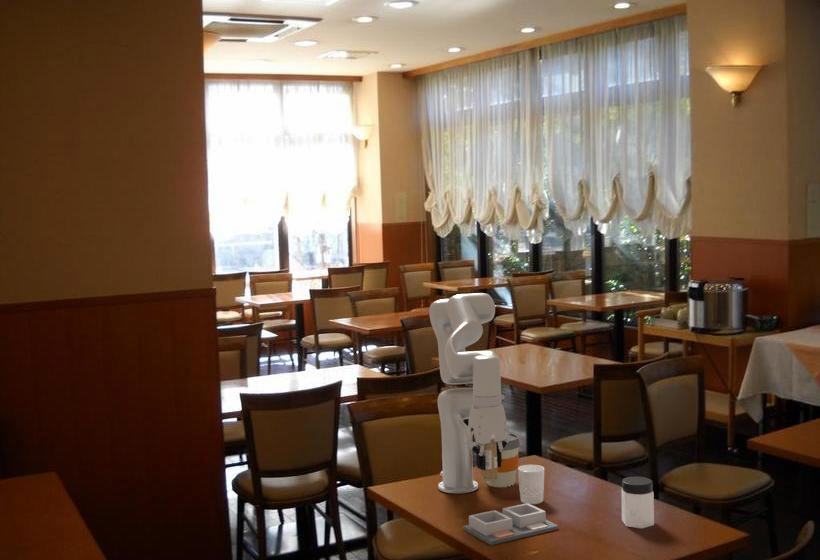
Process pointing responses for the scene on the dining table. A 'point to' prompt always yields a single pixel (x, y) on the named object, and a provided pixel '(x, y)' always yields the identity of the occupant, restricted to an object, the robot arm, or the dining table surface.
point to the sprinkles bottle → (490, 461)
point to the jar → (637, 502)
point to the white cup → (531, 483)
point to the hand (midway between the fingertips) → (489, 466)
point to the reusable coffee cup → (507, 464)
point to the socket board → (509, 524)
